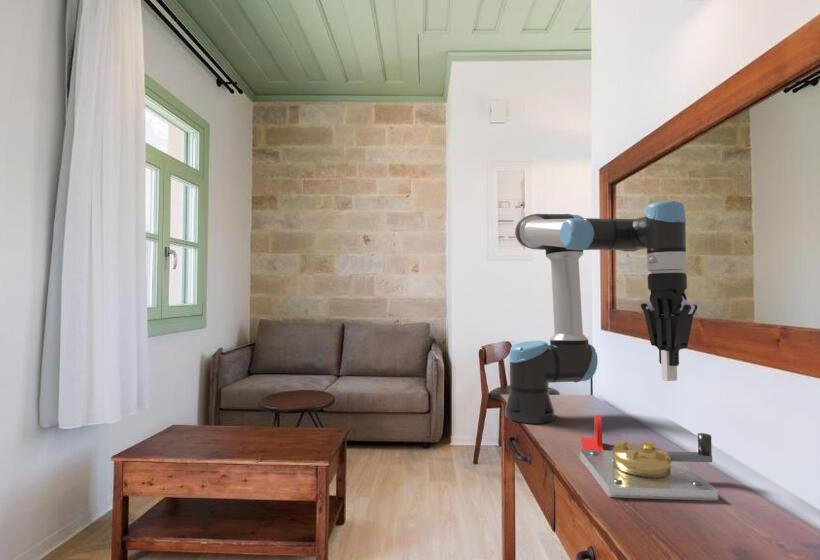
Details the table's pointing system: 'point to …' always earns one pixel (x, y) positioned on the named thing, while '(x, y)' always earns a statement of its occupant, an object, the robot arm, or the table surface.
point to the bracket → (597, 440)
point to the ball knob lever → (656, 457)
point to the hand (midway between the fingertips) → (669, 380)
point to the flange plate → (647, 480)
